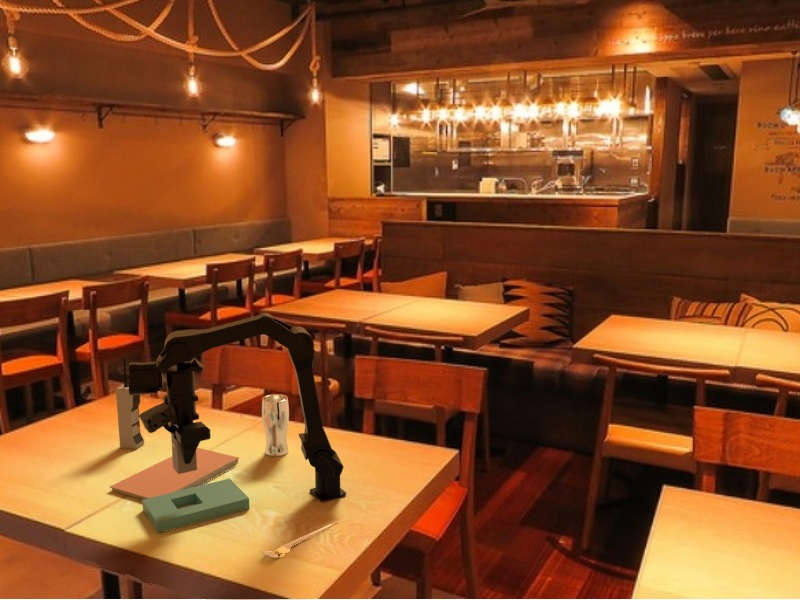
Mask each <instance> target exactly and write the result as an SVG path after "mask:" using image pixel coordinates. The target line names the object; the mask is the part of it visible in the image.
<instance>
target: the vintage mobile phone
mask: <svg viewBox="0 0 800 600" xmlns="http://www.w3.org/2000/svg"><path fill="white" fill-rule="evenodd" d="M122 363H123V365H122V366H123V384H122V385H121V386H118V387H116V388H115V395H116V407H117V408H116V409H117V411H116V412H117V421H118V422H117V424H118V435H119V448H122V449H128V450H129V449H131V450H137V449H139V448H140V447H142V446H144V444H145V439H144V437H143V435H142V433H141V423H140V421H141V419H140V417H139V415H140V408H139V407H140V403H141V395H129V387H128V381H129V380H128V374H127V361H126V356H123V357H122Z"/></svg>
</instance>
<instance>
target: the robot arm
mask: <svg viewBox="0 0 800 600" xmlns="http://www.w3.org/2000/svg"><path fill="white" fill-rule="evenodd" d="M261 335H265V336H267V337H269V338H270V339H271V340H273V341H275V342H276V343H277V344H279V345H281V346H283V347H284V348H285V349H286V351H287V353H288V356H289V359H290V361H291V363H292V366H293V368H294V371H295V373H294V374H295V377H296V382H297V383H296V385H297V389H298V394H299V398H300V399H299V400H300V406H301V411H302V415H303V421H304V432H303V433H301V432H300V433H298V436H299V439H300V441H301V446H300V449H301V452H302V454H303V457H304V459H305V461H307V460H308V462H309V465H311V467H313V468H314V469H315V470H314V475H315V476H314V478H315V479H314V482H315V485H314V486H315V487H313V488H310V489H309V492H310V493H311V494H312V495H313V496H315V498H316V499H318V500H319V501H320V502H326V501H331V500H333V499H338V498H340V497H344V496H347V492H346V491H345V490H344V489H342V488H341V475H342V473H343V470H344V464H343V463H342V461H341V459H340V457H339V455H338V453H337V451H336V450H334V449H333V448H332V446H331V442H330V441H329V438H328V435H327V434H326V431H325V428H324V426H323V425H324V424H323V420H322V414H321V409H320V404H319V397H318V392H317V388H316V387H317V386H316V381H315V376H314V370H313V369H314V361H315V360H314V359H315V341H314V339H313V338H312V336H311V335H310V333H309V332H308V331H307V330H306V329H305V328H304V327H301V326H292V325H290V324H288V323H286V322H285V321H282V320H279V319H278V318H275V317H274V316H272V315H271V314H270V313H267V312H261V313H259V314H258V315H254V316H252V317H246V318H242V319H239V320H236V321H233V322H229V323H224V324H222V325H221V324H220V325H218V326H217V325H216V326H214V327H210V328H205V329H194V328H193V329H182V330H174V331H173V332H170V333H169V334H168V335H167V337H166V338H165V341H164V345H163V346H164V347H163V350H162V351H161V353H159V355H158V357H157V358H156V361H145V362H138V361H131V362H129V364H128V380H127V381H128V387H129V395H140V396H141V395H142V396H143V395H155V394H158V393H159V392H160V391H161V389H163V388H164V374H165V379H166V383H165V385H166V394H164V396H163V399H162V401H163V402H162V403H160V404H157V405H154V406H153V407H151V408H150V407H149V408H148V409H146V410H145V411H143V412H141V413H139V420H140V421H141V422H142V425H143V427H144V429H145V430H146V431H147V433H149V434H152V433H155V432H157V430H160V428H162V427H163V428H164V430H166V431H167V432H169V433H170V434H171V433H173V432H176V436H173V438H174V439H175V440H176V441H177V442H179V443H180V445H181V449H182V453H183V458H184V462H185V464H189V463H191V461H192V458H193V456H194V454H195V452H196V449H197V448H199V445H200V443H201V442H203V441H209V440H210V439H211V437H212V436H211V429H210V428H209V427H208V426H207V425H206V424H205V423H204V422H202V421H197V420H200V414H199V413H198V412H197V405H196V403H197V402H198V401H199V396H198V395H197V394H196V388H195V387H196V384H195V382H196V381H195V372H201V371H203V369H204V368H203V367H204V366H203V363H201V362H200V361H199V360H198V359H197V357H199V356H200V355H202V354H204V353H205V352H208V351H209V350H211V349H215V348H218V347H221V346H225V345H229V344H233V343H237V342H240V341H243V340H249V339H251V338H255V337H258V336H261ZM194 421H196V422H194Z"/></svg>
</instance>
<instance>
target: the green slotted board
mask: <svg viewBox="0 0 800 600" xmlns="http://www.w3.org/2000/svg"><path fill="white" fill-rule="evenodd" d="M141 500H142V501H141V502H142V512H143V513H144V515H145V516H146V518H147V517H148V518H147V519H148V521H149V520H150V521H149V522H150V523H152V524H151V525H152V527H153V526H154V527H153V528H154V530H155V531H156V533H157V534H160V532H161V533H164V532H163V531H165V532H167V531H166V530H169V531H171V530H170V529H172V530H174V529H173V528H176V529H179V528H178V527H180V528H183V527H186V525H187V526H190V524H191V525H193V524H197V523H198V524H199V523H202V522H205V521H208V520H212V519H217V518H221V517H224V516H229V515H231V514H235V513H238V512H242V511H247V510H249V509H250V498H249V496H248V495H247V494H245V493H244V491H243V490H242V488H241V487H239V486H238V485H237V484H236V483H235V482H234V481H233V479H231V478H230V477H229V478H226V479H221V480H218V481H213V482H208V483H205V484H203V485H202V484H201V486H200V485H199V486H198V485H196V487H195V486H194V487H193V488H188V489H184V490H180V491H176V492H172V493H168V494H164V495H160V496H156V497H152V498H148V499H141ZM182 526H183V527H182Z"/></svg>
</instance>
